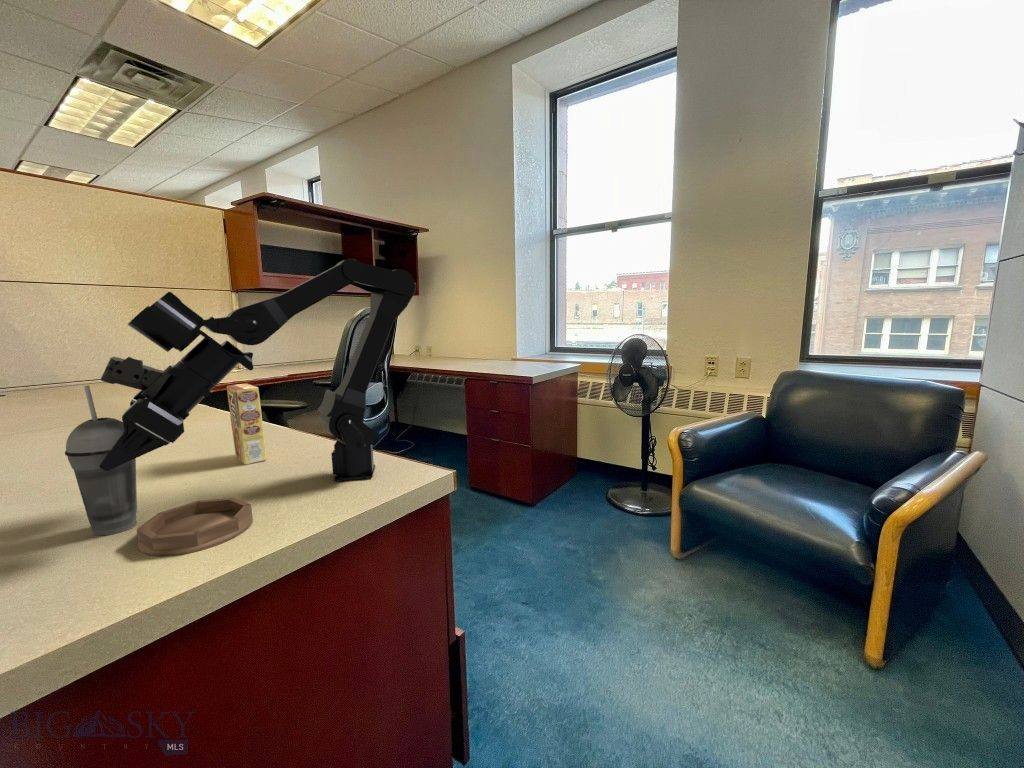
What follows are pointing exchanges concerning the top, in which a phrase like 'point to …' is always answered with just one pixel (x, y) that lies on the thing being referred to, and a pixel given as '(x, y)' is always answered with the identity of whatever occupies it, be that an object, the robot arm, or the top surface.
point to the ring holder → (194, 526)
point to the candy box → (246, 423)
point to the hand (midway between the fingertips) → (107, 460)
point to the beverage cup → (102, 474)
